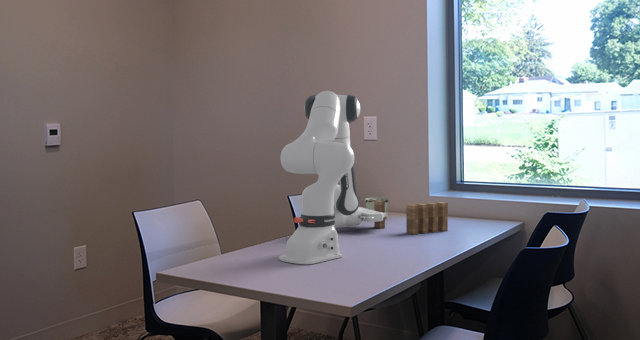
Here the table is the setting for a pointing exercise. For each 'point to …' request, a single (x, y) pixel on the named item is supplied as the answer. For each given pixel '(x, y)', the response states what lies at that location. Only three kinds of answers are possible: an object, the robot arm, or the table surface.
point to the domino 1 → (379, 207)
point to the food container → (370, 203)
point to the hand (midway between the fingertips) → (381, 213)
